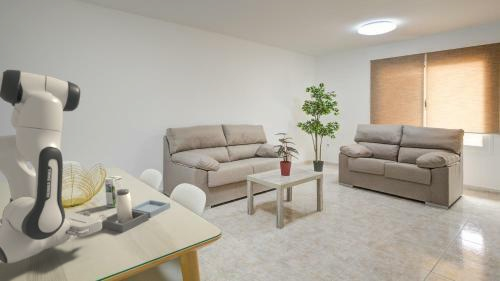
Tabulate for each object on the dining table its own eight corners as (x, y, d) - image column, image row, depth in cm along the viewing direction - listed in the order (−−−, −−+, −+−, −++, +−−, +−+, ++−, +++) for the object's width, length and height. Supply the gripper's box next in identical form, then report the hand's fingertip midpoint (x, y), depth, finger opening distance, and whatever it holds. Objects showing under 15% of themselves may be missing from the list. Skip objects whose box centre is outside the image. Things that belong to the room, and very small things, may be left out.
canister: (115, 224, 113) (112, 192, 111) (126, 219, 118) (123, 188, 116) (124, 227, 111) (121, 193, 109) (135, 221, 116) (133, 189, 114)
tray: (130, 213, 125) (130, 208, 125) (151, 204, 137) (150, 199, 136) (150, 217, 120) (150, 212, 120) (170, 207, 131) (170, 203, 131)
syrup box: (106, 206, 134) (103, 178, 133) (116, 202, 140) (113, 175, 138) (114, 208, 132) (112, 179, 130) (124, 203, 138) (122, 176, 136)
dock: (101, 226, 111) (100, 219, 111) (127, 215, 123) (127, 208, 123) (123, 232, 106) (122, 225, 105) (148, 219, 117) (148, 213, 117)
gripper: (76, 226, 85) (115, 210, 98) (40, 216, 94) (79, 203, 106) (78, 245, 86) (116, 227, 98) (42, 233, 95) (81, 218, 107)
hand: (97, 214), depth 103 cm, fingers open, 8 cm apart
